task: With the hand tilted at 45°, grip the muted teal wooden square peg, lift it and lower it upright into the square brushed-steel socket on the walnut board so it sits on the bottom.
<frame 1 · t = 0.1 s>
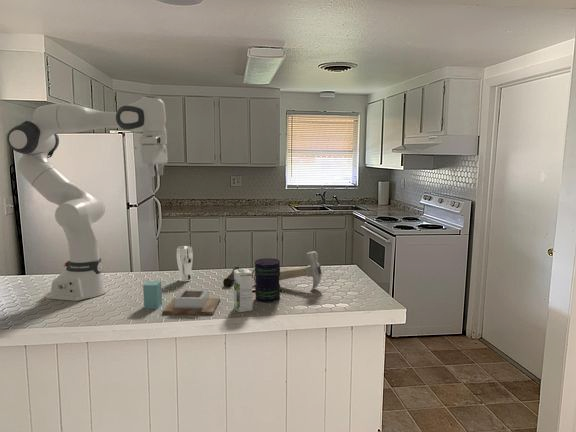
hand: (156, 175, 171), 48 cm above the counter, tool pointing down, fingers open, 8 cm apart
hammer: (286, 287, 187), on the counter
storage jar: (267, 299, 173), on the counter
walnut board: (192, 307, 163), on the counter
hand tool: (232, 281, 197), on the counter
teal peg: (153, 306, 164), on the counter
socket: (192, 304, 163), resting on walnut board
screwdriver: (250, 278, 201), on the counter
syrup box: (243, 309, 161), on the counter
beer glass: (185, 280, 198), on the counter
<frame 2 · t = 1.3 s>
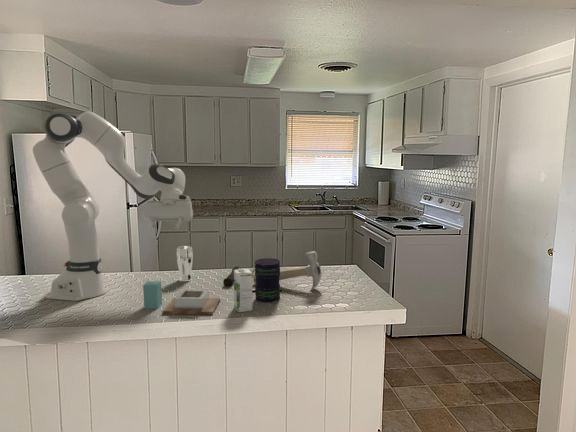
hand: (164, 228, 177), 27 cm above the counter, tool tilted 45°, fingers open, 8 cm apart
nothing on the counter moved.
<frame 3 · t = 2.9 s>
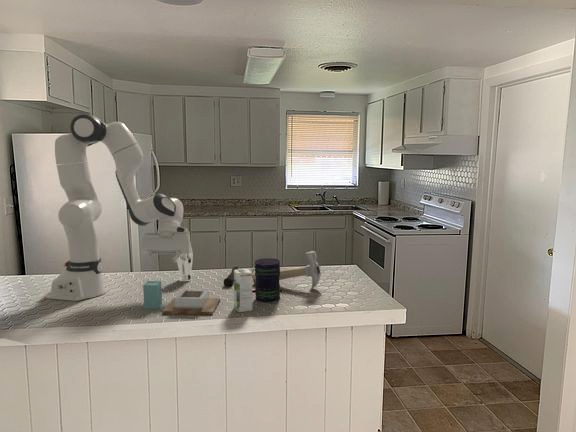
hand: (162, 262, 174), 14 cm above the counter, tool tilted 45°, fingers open, 8 cm apart
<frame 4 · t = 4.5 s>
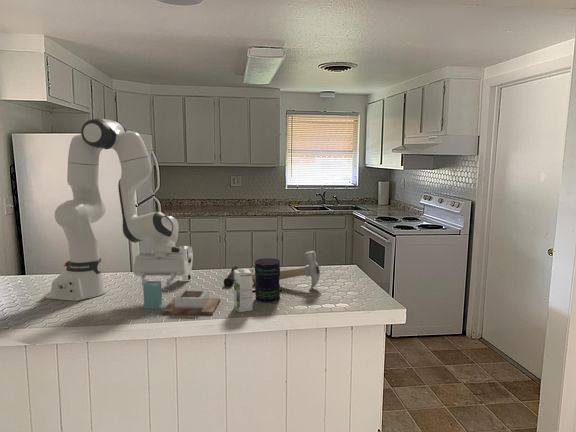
hand: (156, 284, 166), 7 cm above the counter, tool tilted 45°, fingers open, 8 cm apart
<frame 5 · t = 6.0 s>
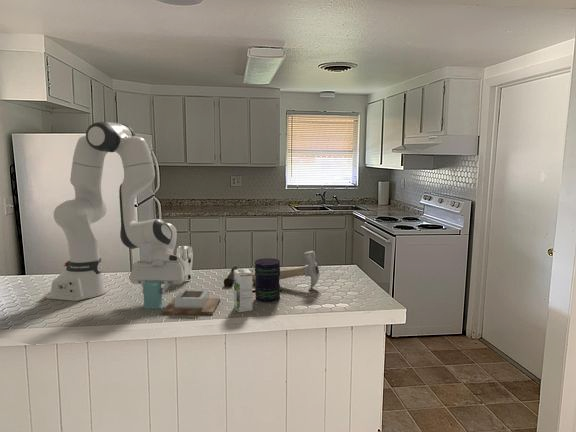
hand: (153, 293, 164), 5 cm above the counter, tool tilted 45°, fingers closed on teal peg, 5 cm apart
teal peg: (153, 306, 164), on the counter, touching gripper
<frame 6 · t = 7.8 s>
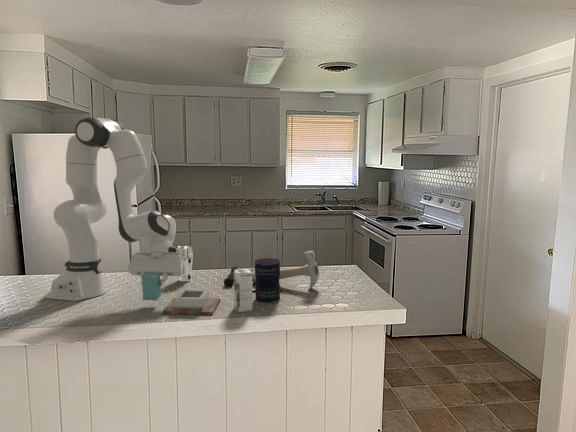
hand: (151, 284, 163), 8 cm above the counter, tool tilted 45°, fingers closed on teal peg, 5 cm apart
teal peg: (152, 297, 164), point 3 cm above the counter, touching gripper
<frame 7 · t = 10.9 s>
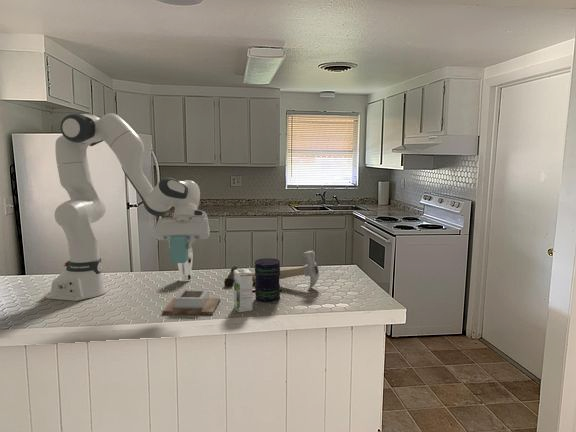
hand: (179, 248, 160), 22 cm above the counter, tool tilted 45°, fingers closed on teal peg, 5 cm apart
teal peg: (179, 261, 161), point 18 cm above the counter, touching gripper
when the fingers open (8 cm above the counter, at t = 14.9 s): teal peg drops 2 cm, resting on walnut board.
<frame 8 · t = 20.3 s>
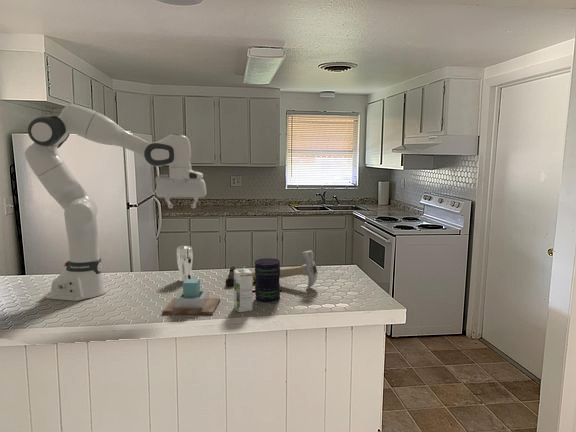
hand: (182, 208, 181), 34 cm above the counter, tool pointing down, fingers open, 8 cm apart
hammer: (283, 286, 189), on the counter
teal peg: (192, 304, 163), point 1 cm above the counter, touching walnut board
screwdriver: (246, 277, 202), on the counter
at the end: teal peg 0.1 cm off-centre on the socket, point 0.0 cm above the socket's base; teal peg tilted 0°; the gripper is holding nothing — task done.
